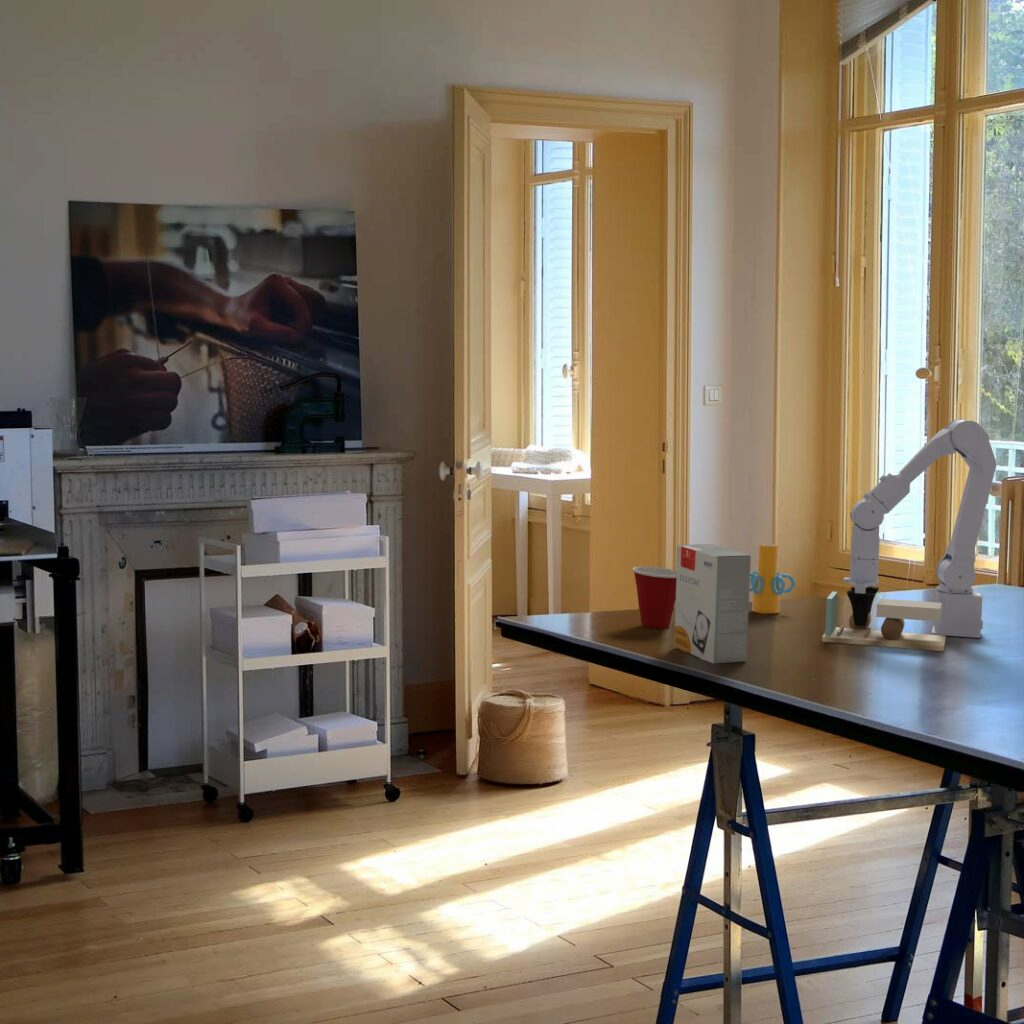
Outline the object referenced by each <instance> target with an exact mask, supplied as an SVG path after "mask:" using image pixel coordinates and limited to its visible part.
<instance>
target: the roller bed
mask: <svg viewBox="0 0 1024 1024" xmlns="http://www.w3.org/2000/svg"><path fill="white" fill-rule="evenodd" d="M825 607H826V608H825V628H824V629H825V631H824V634H823V635H822V638H821V641H822V643H823V642H824V643H835V644H848V645H858V646H859V645H860V646H861V645H862V646H872V647H873V646H875V647H885V648H886V647H887V648H899V649H910V650H911V649H912V650H913V649H914V650H920V651H921V650H924V651H935V652H936V651H937V652H944V650H945V645H946V639H947V636H946V635H933V634H926V633H915V632H912V633H911V632H904V628H905V625H906V624H905V619H898V618H884V619H883V623H882V624H881V627H880V630H875V629H872V628H871V627H868V628H867V629H866V630H864V629H851V627H845V625H840V627H838V626H837V609H838V608H837V607H838V591H831V593H830V594H829V595H828V596H827V598H826V605H825Z"/></svg>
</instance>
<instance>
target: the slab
mask: <svg viewBox="0 0 1024 1024" xmlns="http://www.w3.org/2000/svg"><path fill="white" fill-rule="evenodd" d="M875 613H876V614H875V615H876V616H875V617H876V618H884V619H885V618H898V619H903V620H910V621H911V620H914V621H927V622H935V621H938V622H940V619H941V615H942V603H936V601H919V600H918V601H917V600H905V599H891V598H890V599H889V598H879V600H878V602H877V603H876V612H875Z"/></svg>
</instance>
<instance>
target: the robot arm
mask: <svg viewBox="0 0 1024 1024" xmlns="http://www.w3.org/2000/svg"><path fill="white" fill-rule="evenodd" d="M925 443H926V444H925V445H923V447H922V448H921V449H919V451H918V452H917V453H916V454H915V455H914V456H912V458H911V459H910V460H909V461H908V462H907V463H906V464H905V465H904V466H903V468H901V469H900V471H899V472H889V473H888V474H887V475H884V474H883V475H881V476H880V477H879V478H878V479H879V482H878V483H877V484H876V485H875V486H874V488H872V489H871V490H870V491H869V492H865V493H864V494H863V495H862V497H863V498H864V499H862V500H859V501H857V502H856V503H854V505H853V506H852V508H851V512H849V516H850V520H851V522H852V528H851V533H852V535H851V540H850V561H849V577H844V578H843V583H848V584H850V585H851V587H850V590H847V592H846V595H847V597H848V600H849V602H850V605H851V609H852V614H853V618H854V623H855V625H856V626H865V625H866V622H867V618H868V613H870V614H871V612H872V606H873V604H874V599H875V597H876V595H877V593H878V591H879V586H877V585H879V582H880V581H879V580H880V579H879V564H880V563H879V562H880V561H879V559H880V543H881V542H880V541H881V540H880V539H881V537H880V526H881V525H882V523H883V521H884V518H885V515H888V514H889V513H890V512H892V510H893V509H894V508H895V507H897V506H898V504H900V502H901V501H903V500H904V498H905V497H907V496H908V495H909V493H910V491H911V483H912V482H914V480H915V479H917V478H918V477H919V476H920V475H921V474H922V473H923V472H925V470H927V469H928V468H929V467H930V466H931V465H932V464H933V463H934V462H936V461H937V460H938V459H939V458H940V457H945V456H948V455H949V456H950V455H954V454H956V453H958V454H959V455H960V456H961V458H962V459H963V461H964V463H966V465H967V466H968V468H969V469H968V473H967V478H966V481H965V484H964V487H963V493H962V496H961V500H960V504H959V507H958V512H957V515H956V519H955V523H954V527H953V532H952V536H951V539H950V542H949V544H948V545H947V546H946V548H945V552H944V555H943V556H942V558H941V559H940V561H938V563H937V565H936V569H935V574H936V575H935V576H936V577H937V580H939V582H940V583H939V584H938V585H937V586H936V588H935V589H936V591H935V592H936V593H935V602H936V603H942V615H941V619H940V622H938V621H934V626H932V630H931V635H942V636H946V637H947V636H948V637H961V638H974V639H980V638H981V630H983V627H984V620H982V617H983V616H982V612H983V598H984V597H983V595H984V594H983V593H982V592H974V589H973V588H972V587H973V585H974V583H975V582H976V575H977V574H976V571H975V562H976V546H977V542H978V538H979V534H980V529H981V527H982V522H983V519H984V514H985V511H986V507H987V504H988V500H989V495H990V492H991V487H992V485H993V480H994V477H995V473H996V470H997V460H996V457H995V454H994V451H993V449H992V444H991V442H990V437H989V434H988V432H987V431H986V430H985V429H984V428H983V427H982V426H981V424H980V423H978V422H977V421H975V420H971V419H970V420H968V419H963V418H956V419H954V420H952V421H950V422H949V423H948V424H947V425H946V427H945V428H942V429H941V430H939V431H938V432H937V433H935V434H934V436H933V437H931V438H930V439H929V440H928V441H927V442H925Z"/></svg>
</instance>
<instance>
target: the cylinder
mask: <svg viewBox="0 0 1024 1024" xmlns="http://www.w3.org/2000/svg"><path fill="white" fill-rule="evenodd" d="M757 566H758V568H757V570H754V571H752V572H750V588H749V593H750V592H752V603H751V604H752V605H751V606H752V607H751V610H752V612H754V613H757V614H762V615H763V614H764V615H774V614H779V613H780V607H781V605H780V604H781V595H783V594H788V593H791V592H792V591H793V590H794V588H795V586H796V583H795V579H794V577H793V576H792V575H791V574H788V573H783V574H780V573H779V572H778V571H777V569H778V544H775V543H774V544H773V543H772V544H771V543H760V544H759V545H758V565H757ZM784 578H787V579H789V580H790V583H791V584H790V586H789V588H787V589H786V582H785V579H784Z"/></svg>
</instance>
